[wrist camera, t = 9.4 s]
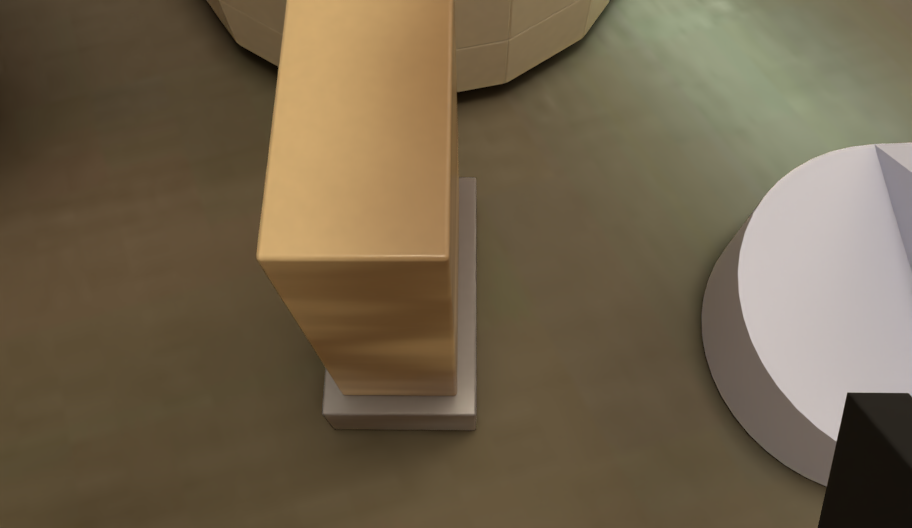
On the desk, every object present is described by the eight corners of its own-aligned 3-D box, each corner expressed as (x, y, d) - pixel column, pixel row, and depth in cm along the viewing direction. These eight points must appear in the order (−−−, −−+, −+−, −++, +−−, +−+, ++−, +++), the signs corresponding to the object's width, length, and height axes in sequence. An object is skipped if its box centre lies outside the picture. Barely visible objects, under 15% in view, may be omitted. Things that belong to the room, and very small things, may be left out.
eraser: (333, 429, 22) (217, 289, 12) (349, 207, 25) (265, -63, 14) (475, 430, 22) (482, 291, 12) (475, 207, 24) (481, -63, 14)
